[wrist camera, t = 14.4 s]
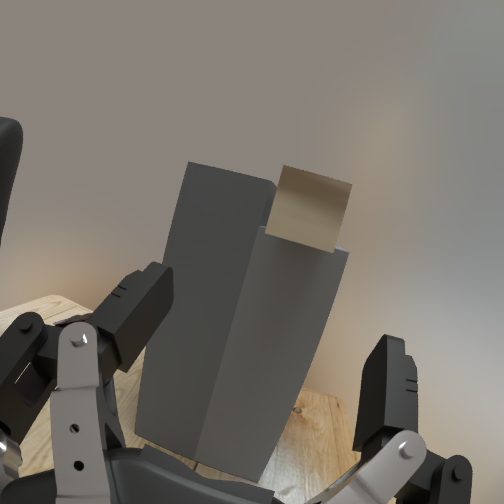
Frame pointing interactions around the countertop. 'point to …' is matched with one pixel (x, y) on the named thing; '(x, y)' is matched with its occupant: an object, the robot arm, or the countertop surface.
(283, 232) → the birch bar
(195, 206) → the block
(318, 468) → the countertop surface
